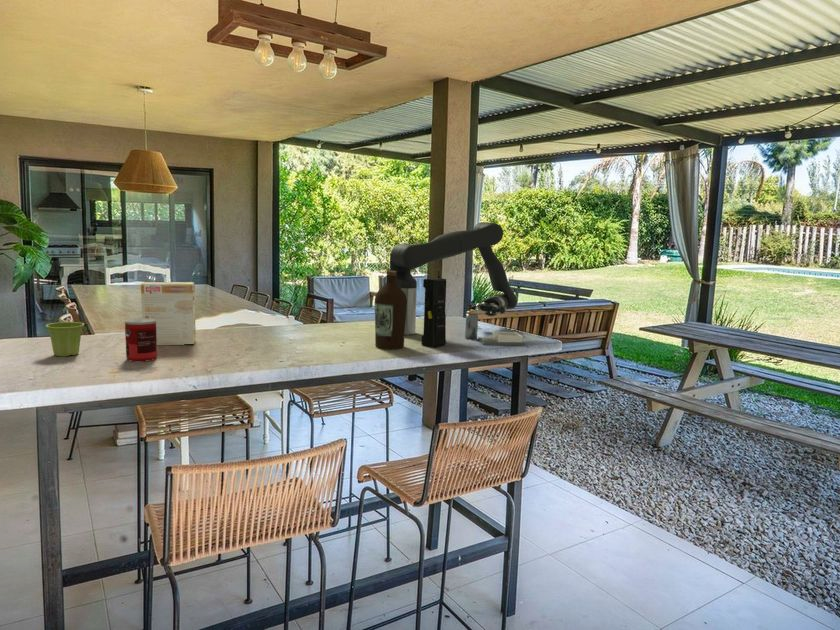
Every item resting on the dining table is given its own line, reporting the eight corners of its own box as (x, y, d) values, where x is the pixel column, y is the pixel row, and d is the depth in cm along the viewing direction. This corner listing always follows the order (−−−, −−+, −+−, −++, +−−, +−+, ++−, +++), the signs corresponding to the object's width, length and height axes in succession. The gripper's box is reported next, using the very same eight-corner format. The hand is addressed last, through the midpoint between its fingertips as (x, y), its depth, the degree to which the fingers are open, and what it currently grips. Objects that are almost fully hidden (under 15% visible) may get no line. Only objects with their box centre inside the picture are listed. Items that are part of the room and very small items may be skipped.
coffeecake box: (196, 341, 194) (195, 281, 191) (193, 345, 187) (192, 283, 184) (146, 341, 190) (144, 281, 187) (142, 346, 183) (140, 283, 180)
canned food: (134, 355, 169) (133, 317, 168) (162, 356, 169) (161, 318, 168) (120, 361, 162) (119, 321, 160) (149, 362, 162) (148, 322, 160)
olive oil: (385, 342, 202) (387, 269, 199) (411, 346, 196) (414, 271, 193) (367, 347, 193) (368, 270, 190) (393, 351, 188) (395, 272, 184)
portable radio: (433, 348, 195) (436, 272, 191) (418, 345, 198) (421, 271, 195) (446, 345, 201) (449, 271, 197) (432, 342, 204) (435, 270, 201)
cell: (466, 339, 213) (467, 310, 211) (463, 337, 217) (465, 308, 216) (478, 339, 213) (479, 310, 212) (475, 337, 218) (477, 309, 216)
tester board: (483, 344, 204) (484, 335, 203) (478, 340, 212) (478, 331, 212) (523, 345, 205) (523, 336, 205) (515, 340, 214) (516, 331, 214)
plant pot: (90, 351, 173) (89, 322, 172) (78, 358, 164) (76, 327, 163) (56, 351, 172) (54, 321, 170) (41, 358, 162) (39, 327, 161)
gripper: (477, 295, 241) (464, 299, 226) (511, 297, 236) (500, 302, 221) (476, 313, 242) (463, 318, 228) (510, 316, 237) (499, 321, 222)
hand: (481, 310), depth 224 cm, fingers open, 8 cm apart
